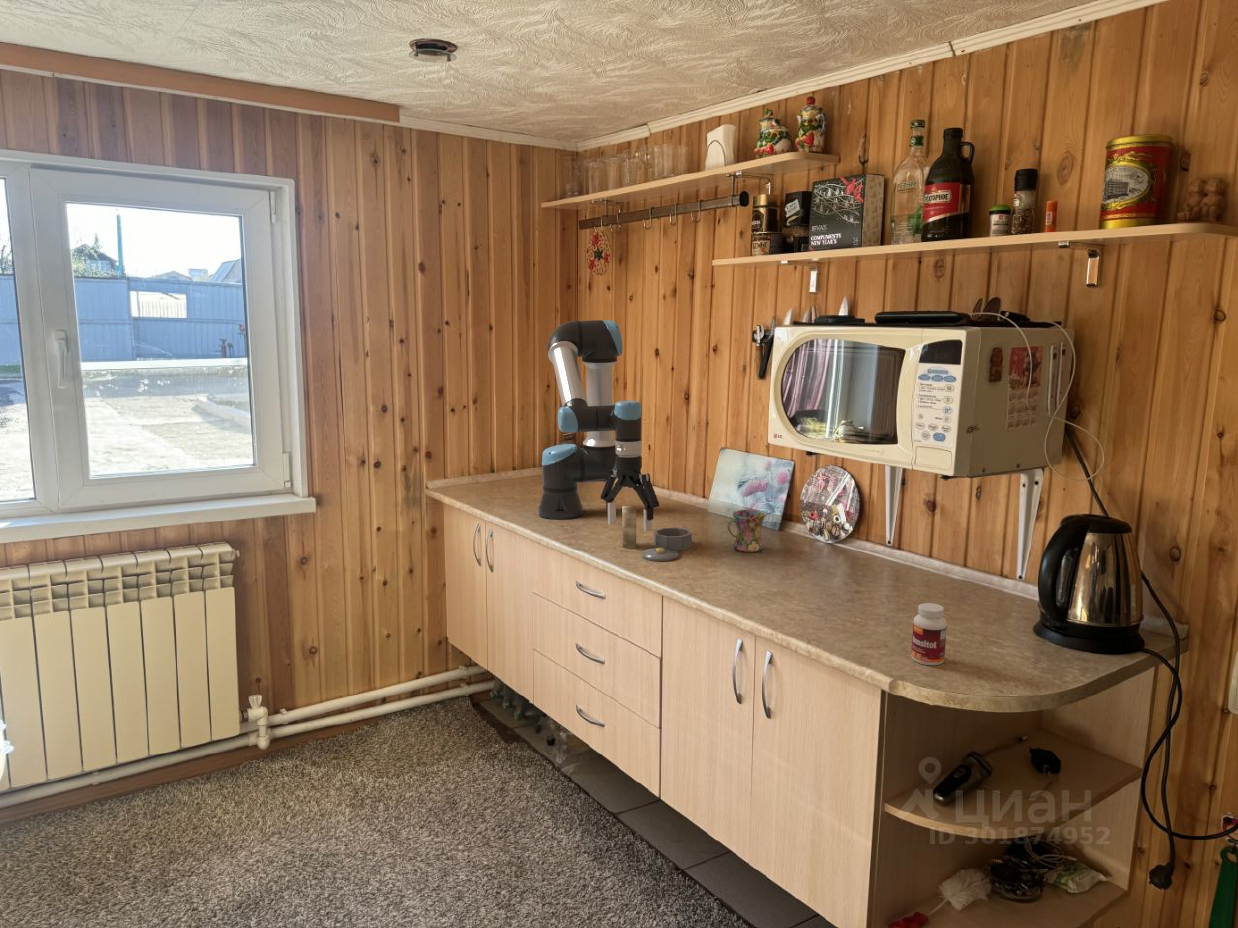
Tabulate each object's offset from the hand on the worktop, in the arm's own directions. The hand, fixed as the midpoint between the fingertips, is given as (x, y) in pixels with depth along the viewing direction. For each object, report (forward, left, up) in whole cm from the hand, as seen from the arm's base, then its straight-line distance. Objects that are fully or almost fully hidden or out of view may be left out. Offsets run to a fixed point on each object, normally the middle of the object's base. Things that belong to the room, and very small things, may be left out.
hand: (629, 527), depth 250 cm
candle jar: (+9, +9, -6) cm, 14 cm away
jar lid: (+13, -2, -6) cm, 14 cm away
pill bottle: (+98, -25, -6) cm, 101 cm away
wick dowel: (0, 0, -6) cm, 6 cm away
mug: (+28, +18, -6) cm, 34 cm away
